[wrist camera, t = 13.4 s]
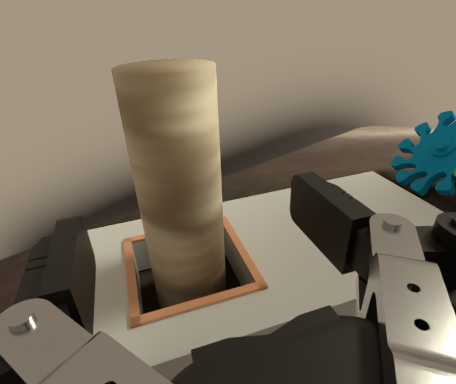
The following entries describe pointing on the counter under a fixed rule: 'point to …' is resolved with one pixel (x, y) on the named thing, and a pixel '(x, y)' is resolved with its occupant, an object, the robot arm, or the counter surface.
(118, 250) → the white peg hole board
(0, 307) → the counter surface
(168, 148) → the peg
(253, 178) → the counter surface
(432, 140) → the gear
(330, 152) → the counter surface
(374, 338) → the robot arm
